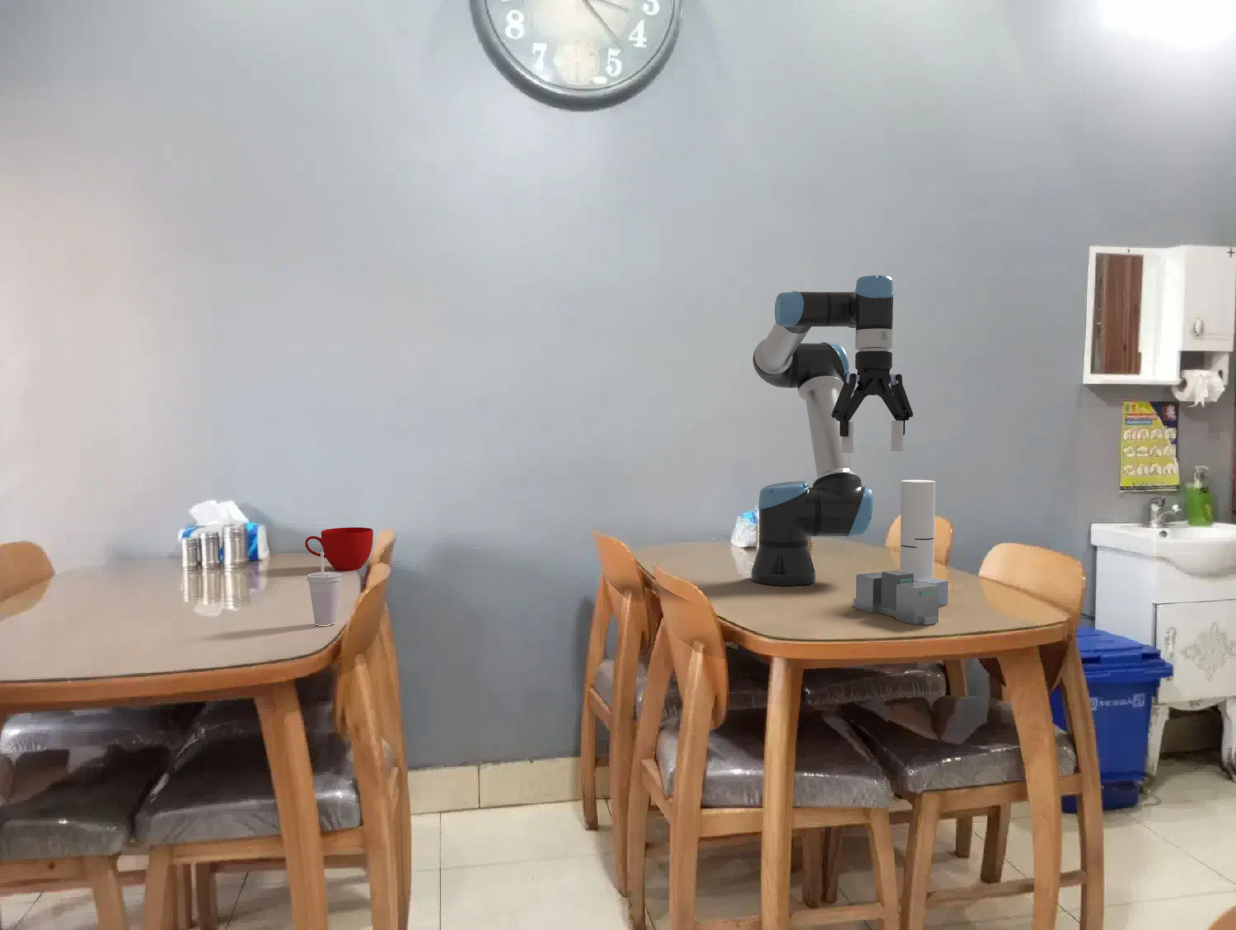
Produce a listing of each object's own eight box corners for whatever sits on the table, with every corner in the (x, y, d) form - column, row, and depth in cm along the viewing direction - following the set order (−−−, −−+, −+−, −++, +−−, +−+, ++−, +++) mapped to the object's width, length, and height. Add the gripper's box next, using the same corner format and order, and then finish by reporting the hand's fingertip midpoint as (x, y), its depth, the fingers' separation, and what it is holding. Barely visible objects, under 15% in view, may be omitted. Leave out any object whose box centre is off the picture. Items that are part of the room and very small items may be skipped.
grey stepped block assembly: (847, 606, 194) (848, 572, 193) (870, 603, 196) (870, 570, 196) (918, 626, 176) (919, 589, 175) (942, 622, 178) (942, 586, 178)
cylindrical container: (935, 597, 202) (937, 482, 200) (901, 596, 203) (902, 482, 202) (931, 591, 209) (933, 479, 207) (898, 590, 210) (899, 479, 209)
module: (881, 606, 186) (881, 571, 186) (896, 604, 188) (896, 570, 187) (897, 611, 182) (898, 575, 181) (913, 609, 184) (913, 573, 183)
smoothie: (330, 619, 184) (328, 548, 183) (349, 623, 180) (347, 551, 179) (301, 624, 179) (299, 552, 178) (320, 629, 175) (318, 555, 174)
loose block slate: (912, 603, 196) (913, 580, 196) (926, 600, 199) (927, 577, 199) (933, 607, 192) (934, 583, 192) (947, 604, 195) (948, 580, 195)
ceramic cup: (306, 566, 245) (305, 529, 245) (372, 563, 250) (371, 526, 250) (305, 575, 233) (304, 535, 232) (375, 571, 238) (374, 532, 237)
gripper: (838, 348, 187) (837, 454, 188) (931, 351, 198) (929, 451, 199) (814, 350, 193) (814, 452, 195) (905, 353, 205) (904, 449, 206)
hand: (872, 452), depth 197 cm, fingers open, 13 cm apart
